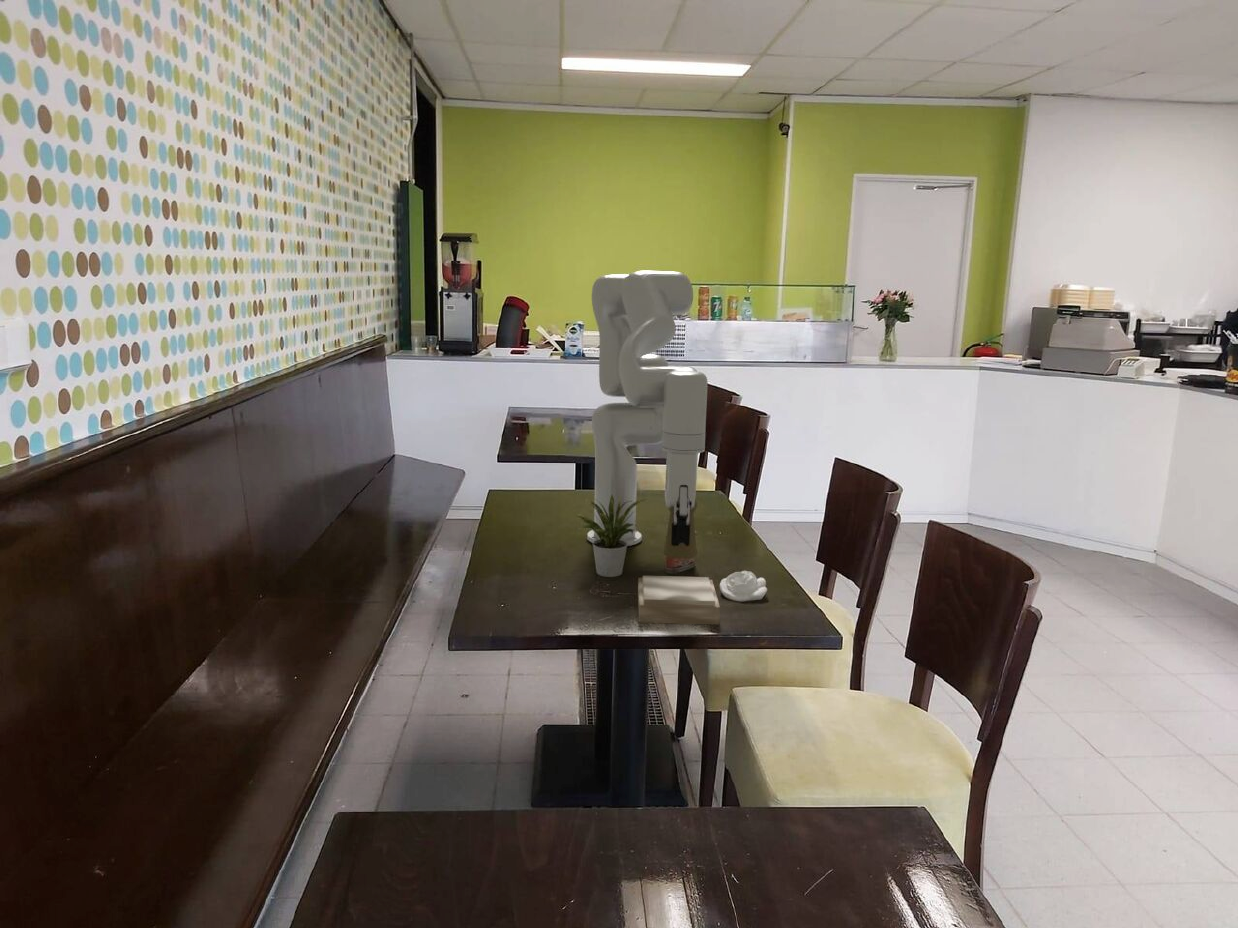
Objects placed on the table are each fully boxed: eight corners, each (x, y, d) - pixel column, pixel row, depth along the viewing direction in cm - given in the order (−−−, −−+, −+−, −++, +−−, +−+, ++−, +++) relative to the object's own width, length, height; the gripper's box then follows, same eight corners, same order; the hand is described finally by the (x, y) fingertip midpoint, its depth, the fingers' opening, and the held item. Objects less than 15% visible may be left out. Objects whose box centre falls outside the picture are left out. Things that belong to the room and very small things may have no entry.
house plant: (622, 556, 187) (624, 483, 183) (660, 574, 175) (663, 497, 172) (565, 566, 179) (566, 490, 175) (601, 587, 168) (603, 505, 164)
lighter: (686, 562, 184) (688, 516, 182) (698, 565, 182) (700, 520, 180) (661, 570, 178) (662, 523, 176) (673, 574, 176) (675, 527, 174)
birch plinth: (638, 593, 164) (638, 574, 164) (711, 595, 164) (712, 575, 164) (638, 622, 151) (639, 600, 150) (718, 624, 151) (720, 602, 150)
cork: (691, 560, 152) (694, 500, 150) (659, 556, 154) (661, 496, 152) (701, 551, 158) (703, 492, 155) (669, 546, 160) (671, 489, 157)
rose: (779, 572, 166) (752, 584, 159) (778, 594, 167) (750, 607, 160) (736, 560, 172) (708, 571, 165) (735, 582, 173) (706, 593, 166)
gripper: (660, 433, 159) (657, 529, 163) (664, 450, 143) (660, 555, 147) (700, 434, 159) (696, 530, 163) (709, 451, 143) (704, 557, 147)
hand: (679, 541), depth 155 cm, fingers closed on cork, 3 cm apart
